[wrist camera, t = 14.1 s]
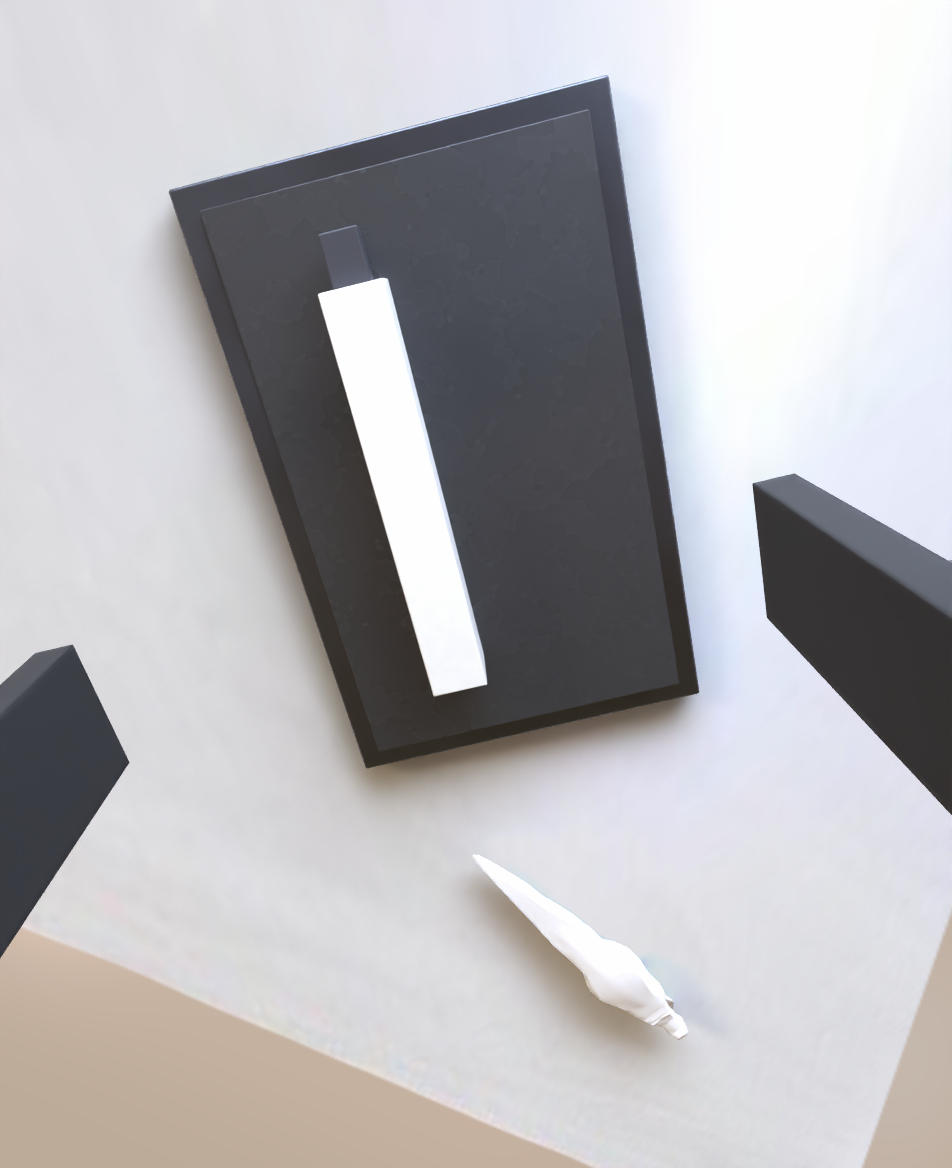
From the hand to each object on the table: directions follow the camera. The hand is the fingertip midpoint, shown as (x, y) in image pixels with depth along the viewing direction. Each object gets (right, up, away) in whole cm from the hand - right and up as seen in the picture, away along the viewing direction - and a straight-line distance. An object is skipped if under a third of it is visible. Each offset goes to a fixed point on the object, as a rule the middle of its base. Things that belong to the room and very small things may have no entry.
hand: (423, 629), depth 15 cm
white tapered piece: (+6, -16, +23) cm, 28 cm away
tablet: (+1, +5, +14) cm, 15 cm away
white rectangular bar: (-1, +4, +13) cm, 14 cm away
